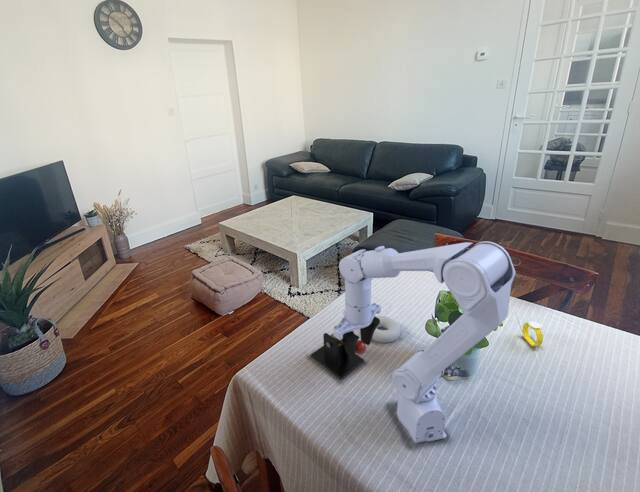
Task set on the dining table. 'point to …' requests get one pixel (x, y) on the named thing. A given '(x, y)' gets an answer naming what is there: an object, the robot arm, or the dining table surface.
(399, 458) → the dining table surface
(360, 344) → the lever
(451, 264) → the robot arm
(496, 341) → the dining table surface
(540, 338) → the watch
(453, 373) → the blueberries
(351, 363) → the bracket
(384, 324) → the donut
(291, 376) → the dining table surface
